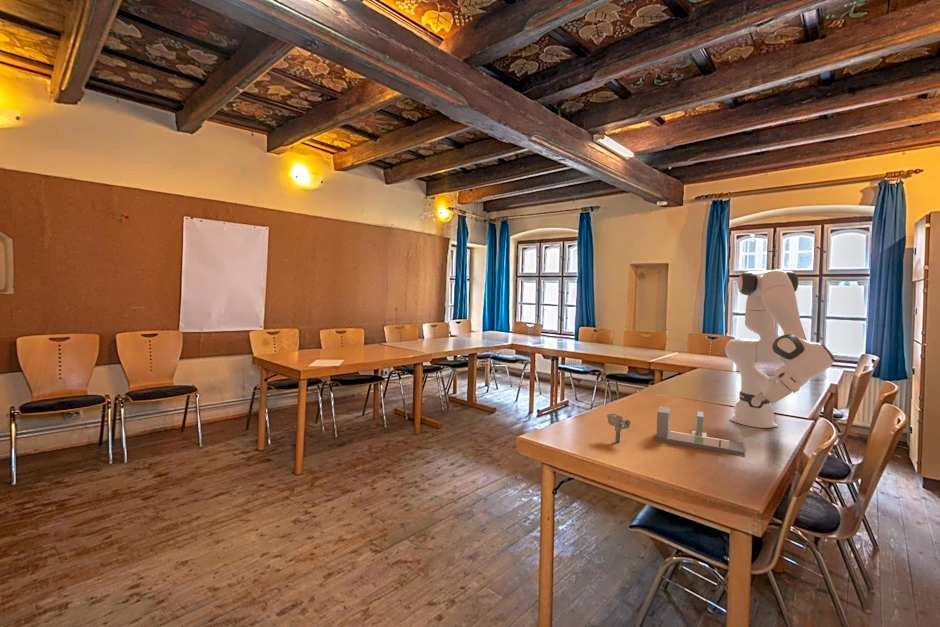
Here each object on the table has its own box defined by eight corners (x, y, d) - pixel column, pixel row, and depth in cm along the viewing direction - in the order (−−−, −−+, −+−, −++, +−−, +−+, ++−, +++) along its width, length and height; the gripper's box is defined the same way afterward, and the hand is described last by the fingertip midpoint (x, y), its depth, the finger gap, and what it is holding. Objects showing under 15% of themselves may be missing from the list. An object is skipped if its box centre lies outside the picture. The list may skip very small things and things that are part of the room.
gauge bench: (658, 432, 183) (659, 405, 183) (742, 446, 169) (743, 417, 169) (655, 440, 173) (657, 412, 172) (744, 456, 159) (746, 425, 158)
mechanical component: (624, 446, 165) (626, 420, 164) (605, 438, 174) (606, 413, 174) (630, 445, 166) (631, 419, 166) (610, 437, 175) (611, 412, 175)
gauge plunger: (692, 435, 176) (693, 410, 175) (706, 437, 173) (707, 412, 173) (691, 442, 167) (692, 416, 166) (706, 445, 164) (707, 418, 164)
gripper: (775, 368, 167) (744, 389, 172) (784, 376, 149) (749, 401, 154) (789, 380, 165) (757, 402, 170) (799, 391, 147) (763, 415, 152)
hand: (753, 401), depth 162 cm, fingers closed
